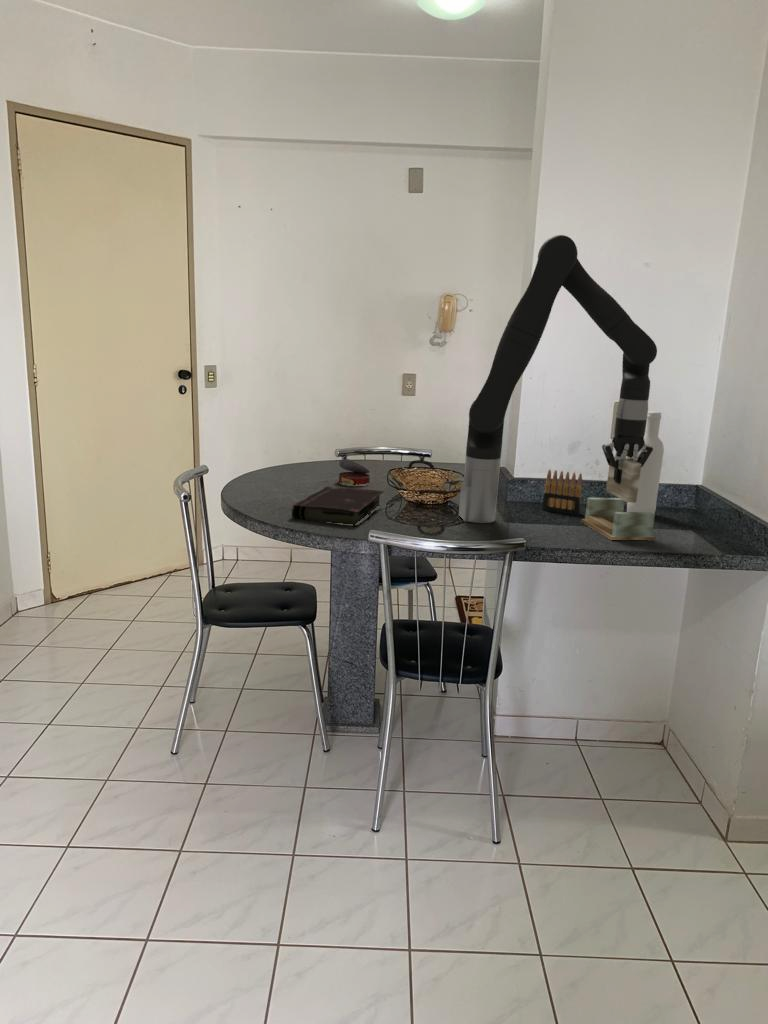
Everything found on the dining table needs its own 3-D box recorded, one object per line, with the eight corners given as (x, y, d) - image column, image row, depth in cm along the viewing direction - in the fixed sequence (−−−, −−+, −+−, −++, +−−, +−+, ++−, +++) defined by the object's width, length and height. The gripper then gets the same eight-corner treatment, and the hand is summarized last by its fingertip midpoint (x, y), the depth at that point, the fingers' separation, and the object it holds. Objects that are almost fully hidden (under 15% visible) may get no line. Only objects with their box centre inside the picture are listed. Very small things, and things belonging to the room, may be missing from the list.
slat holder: (610, 540, 191) (614, 513, 189) (581, 522, 208) (584, 497, 206) (654, 540, 193) (658, 514, 191) (621, 522, 210) (624, 498, 208)
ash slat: (627, 502, 192) (632, 463, 190) (605, 491, 204) (610, 454, 201) (636, 502, 193) (641, 463, 190) (614, 491, 204) (619, 454, 202)
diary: (290, 522, 194) (290, 503, 193) (323, 502, 218) (324, 485, 217) (359, 529, 190) (360, 510, 189) (386, 508, 213) (386, 491, 212)
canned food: (337, 496, 243) (330, 467, 245) (365, 492, 247) (358, 463, 249) (348, 487, 233) (341, 456, 235) (378, 482, 237) (370, 452, 239)
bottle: (642, 510, 227) (656, 410, 219) (660, 517, 219) (675, 413, 212) (620, 511, 224) (634, 410, 216) (638, 518, 217) (652, 413, 209)
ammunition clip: (541, 509, 220) (545, 469, 217) (542, 508, 222) (547, 468, 219) (578, 515, 216) (583, 474, 214) (579, 513, 218) (584, 472, 215)
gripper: (613, 418, 188) (604, 485, 192) (664, 419, 191) (654, 486, 195) (599, 414, 195) (591, 479, 200) (649, 415, 198) (640, 480, 202)
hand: (623, 482), depth 197 cm, fingers closed on ash slat, 2 cm apart
